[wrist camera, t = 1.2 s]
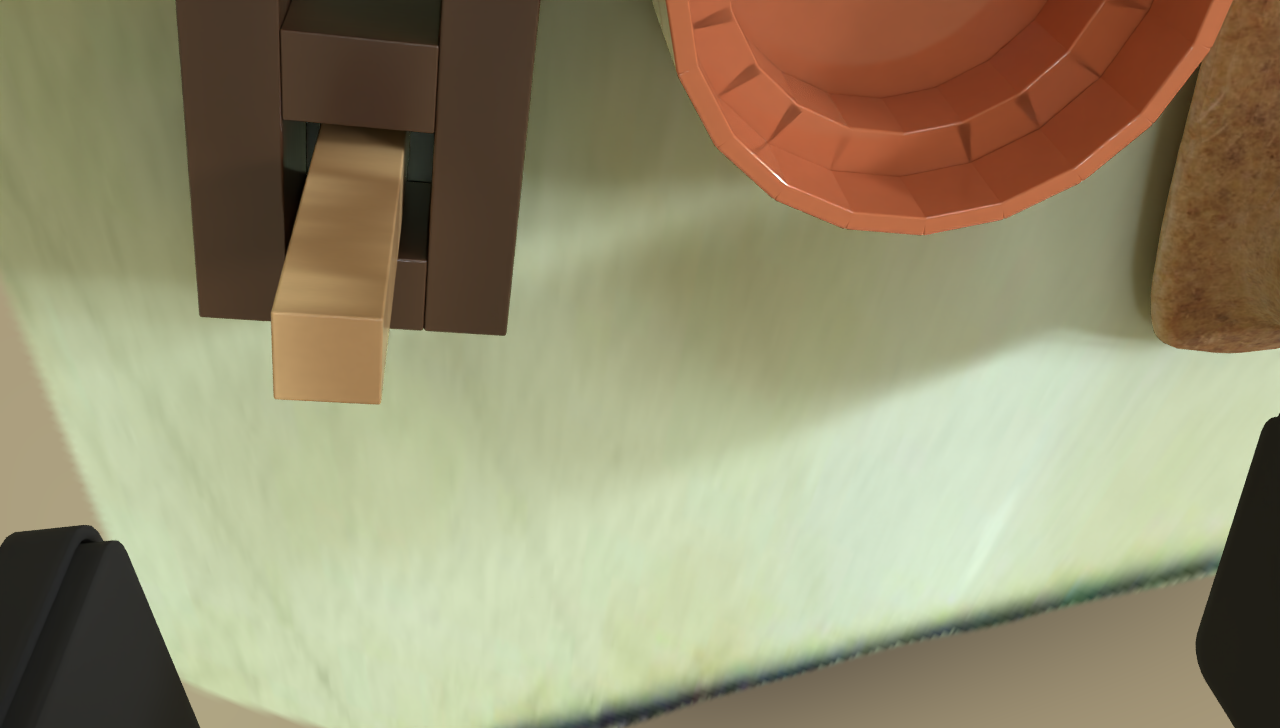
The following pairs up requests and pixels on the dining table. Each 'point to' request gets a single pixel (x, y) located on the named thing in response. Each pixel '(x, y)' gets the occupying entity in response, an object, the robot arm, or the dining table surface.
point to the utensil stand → (364, 97)
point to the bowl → (930, 97)
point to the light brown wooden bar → (341, 269)
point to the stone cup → (1226, 197)
